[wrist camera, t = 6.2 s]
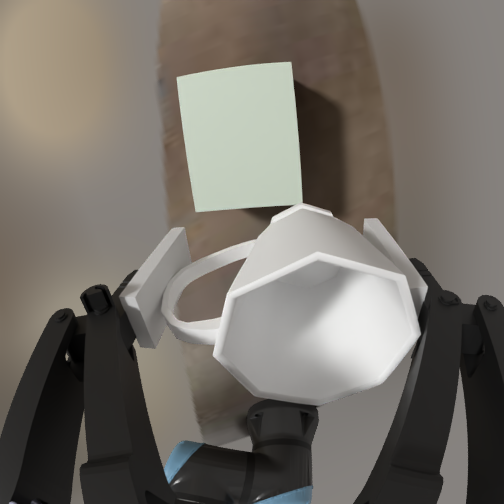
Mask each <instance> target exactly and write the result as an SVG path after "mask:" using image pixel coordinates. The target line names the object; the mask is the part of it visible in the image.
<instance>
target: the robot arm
mask: <svg viewBox="0 0 504 504" xmlns="http://www.w3.org/2000/svg"><path fill="white" fill-rule="evenodd" d="M363 236H364V237H365V238H366V239H367V240H368V241H369V242H370V243H371V244H372V245H373V246H374V247H376V248H377V249H378V250H379V251H380V252H381V253H382V254H384V255H385V256H386V257H387V258H388V259H389V260H390V261H391V262H392V263H393V264H394V265H395V266H396V267H397V268H398V269H399V270H400V271H401V272H402V273H403V274H404V275H405V276H406V279H407V282H408V286H409V289H410V293H411V296H412V300H413V303H414V307H415V311H416V315H417V319H418V323H419V327H420V332H421V335H420V336H419V338H418V340H417V343H416V346H415V348H414V351H413V354H412V356H411V358H412V362H411V366H410V370H409V373H408V377H407V381H406V384H405V387H404V390H403V394H402V397H401V400H400V403H399V406H398V409H397V412H396V415H395V418H394V420H393V423H392V425H391V428H390V431H389V433H388V436H387V438H386V441H385V443H384V445H383V448H382V450H381V452H380V455H379V457H378V459H377V461H376V464H375V466H374V468H373V470H372V472H371V474H370V476H369V478H368V481H367V482H366V484H365V486H364V488H363V490H362V491H361V493H360V494H359V496H358V497H357V499H356V500H355V502H354V503H353V504H437V501H438V498H439V496H440V493H441V490H442V485H443V477H442V476H441V475H440V467H441V463H442V460H443V456H444V453H445V449H446V445H447V441H448V437H449V432H450V428H451V423H452V418H453V412H454V406H455V400H456V393H457V386H458V378H459V368H460V371H461V377H462V384H463V390H464V399H465V407H466V419H467V432H468V485H467V499H466V504H504V307H503V305H502V304H501V302H500V301H499V300H498V299H496V298H495V297H493V296H489V295H482V296H480V297H479V298H478V300H477V303H476V305H470V304H463V303H462V302H461V300H460V298H459V297H458V296H457V295H456V294H454V293H453V292H450V291H447V290H442V288H441V287H440V285H439V284H438V283H437V281H436V280H435V278H434V277H433V276H432V275H431V273H430V272H429V271H428V269H427V268H426V266H425V265H424V264H423V263H422V262H420V261H419V260H417V259H416V258H411V259H408V258H407V256H406V255H405V254H404V252H403V251H402V249H401V248H400V247H399V245H398V244H397V243H396V242H395V240H394V239H393V238H392V236H391V235H390V234H389V233H388V231H387V230H386V229H385V227H384V226H383V225H382V224H381V222H380V221H379V220H378V219H377V218H372V219H364V231H363ZM190 264H192V261H191V257H190V252H189V247H188V242H187V237H186V232H185V227H180V228H172V229H171V230H170V231H169V232H168V234H167V235H166V236H165V237H164V239H163V240H162V241H161V242H160V244H159V245H158V246H157V247H156V249H155V250H154V251H153V253H152V254H151V255H150V256H149V258H148V259H147V260H146V261H145V262H144V264H143V265H142V266H141V268H140V269H139V270H134V271H133V272H132V273H130V274H129V275H128V276H127V277H126V278H125V279H124V281H123V283H121V284H120V286H119V288H117V290H116V291H115V292H114V294H113V295H112V296H111V294H110V291H109V289H108V287H107V286H106V285H101V284H100V285H95V286H92V287H90V288H88V289H87V290H85V291H84V292H83V293H82V294H81V296H80V299H81V301H82V303H83V305H84V308H85V310H86V312H87V315H84V316H78V317H75V314H74V313H73V310H72V309H69V308H65V309H60V310H58V311H57V312H56V313H54V314H53V315H52V317H51V318H50V319H49V321H48V323H47V325H46V327H45V329H44V331H43V333H42V335H41V337H40V339H39V341H38V343H37V345H36V347H35V349H34V351H33V353H32V355H31V358H30V360H29V362H28V364H27V366H26V369H25V371H24V373H23V376H22V378H21V381H20V383H19V386H18V388H17V390H16V393H15V396H14V398H13V401H12V404H11V407H10V409H9V412H8V415H7V418H6V421H5V424H4V427H3V431H2V434H1V438H0V504H70V502H71V494H72V482H73V473H74V465H75V458H76V451H77V445H78V438H79V432H80V427H81V422H82V417H83V412H84V413H85V430H86V442H87V451H88V461H87V463H84V464H82V465H81V467H80V481H81V488H82V494H83V500H84V504H310V503H311V499H312V489H313V485H312V457H311V456H312V455H311V444H312V441H313V438H314V435H315V431H316V429H317V426H318V421H319V419H318V410H317V409H316V407H315V406H314V405H309V404H301V403H293V402H286V401H280V400H274V399H269V400H264V401H261V402H259V403H257V404H255V405H253V406H252V407H251V408H250V409H249V411H248V414H247V426H248V430H249V433H250V437H251V440H252V444H253V448H252V452H245V451H239V450H233V449H227V448H221V447H217V446H212V445H208V444H206V443H197V442H192V441H181V442H179V443H178V444H177V445H176V447H175V448H174V449H173V451H172V453H171V455H170V457H169V459H168V461H167V464H166V466H165V469H163V466H162V463H161V460H160V456H159V453H158V449H157V446H156V443H155V439H154V435H153V432H152V427H151V424H150V420H149V416H148V412H147V408H146V403H145V398H144V393H143V389H142V384H141V379H140V373H139V368H138V362H137V356H136V351H135V349H134V347H133V342H134V340H135V338H136V339H137V341H138V343H139V345H140V347H144V348H154V349H155V348H156V346H157V344H158V342H159V340H160V338H161V336H162V333H163V331H164V329H165V327H166V325H167V324H166V321H165V319H164V316H163V314H162V312H161V307H162V300H163V294H164V291H165V289H166V287H167V284H168V283H169V281H170V280H171V279H172V278H173V277H174V276H175V275H176V274H177V273H178V272H179V271H180V270H181V269H183V268H184V267H186V266H188V265H190ZM182 291H183V290H182ZM182 291H181V292H180V293H179V294H178V297H177V300H176V303H175V306H176V304H177V302H178V299H179V297H180V295H181V293H182ZM175 306H174V308H175ZM66 353H67V355H68V356H69V357H68V360H67V361H66V358H65V355H66Z"/></svg>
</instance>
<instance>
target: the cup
mask: <svg viewBox="0 0 504 504" xmlns="http://www.w3.org/2000/svg"><path fill="white" fill-rule="evenodd" d="M246 257H248V258H247V259H246V261H245V263H244V264H243V266H242V268H241V269H240V271H239V273H238V274H237V276H236V278H235V280H234V282H233V284H232V286H231V287H230V289H229V291H228V293H227V296H226V300H225V304H224V309H223V313H222V317H220V318H216V319H210V320H204V321H197V322H189V323H186V322H183V321H180V320H177V319H176V317H175V316H174V306H175V303H176V300H177V297H178V294H179V293H180V292H181V291H182V290H183V289H184V288H185V287H186V286H187V285H188V284H189V283H190V282H192V281H193V280H195V279H197V278H199V277H201V276H202V275H204V274H206V273H209V272H211V271H213V270H215V269H218V268H220V267H222V266H225V265H227V264H229V263H232V262H234V261H237V260H240V259H243V258H246ZM161 312H162V314H163V316H164V319H165V321H166V324H167V325H168V327H169V328H170V330H171V331H172V333H173V334H174V335H175V337H176V338H177V339H180V340H182V341H185V342H188V343H193V344H207V345H214V344H215V348H214V352H213V356H214V357H215V358H216V359H217V360H218V361H219V362H220V363H221V364H222V365H223V366H224V367H225V368H226V369H227V370H228V371H229V372H230V373H231V374H232V375H233V376H234V377H235V378H236V379H237V380H238V381H239V382H240V383H241V384H242V385H243V386H244V387H245V388H246V389H247V390H248V391H250V392H251V393H252V394H253V395H254V396H257V397H262V398H268V399H274V400H280V401H286V402H293V403H301V404H309V405H318V406H320V405H323V404H326V403H330V402H333V401H336V400H339V399H342V398H345V397H347V396H351V395H353V394H356V393H359V392H362V391H365V390H367V389H369V388H372V387H375V386H377V385H380V384H382V383H383V382H384V381H385V380H386V379H387V378H388V376H389V375H390V374H391V373H392V372H393V370H394V369H395V368H396V366H397V365H398V364H399V363H400V362H401V360H402V359H403V358H404V356H405V355H406V354H407V353H408V351H409V350H410V349H411V347H412V346H413V345H414V343H415V342H416V341H417V339H418V338H419V336H420V335H421V332H420V327H419V323H418V319H417V315H416V311H415V307H414V303H413V300H412V296H411V293H410V289H409V286H408V282H407V279H406V276H405V275H404V274H403V273H402V272H401V271H400V270H399V269H398V268H397V267H396V266H395V265H394V264H393V263H392V262H391V261H390V260H389V259H388V258H387V257H386V256H385V255H384V254H382V253H381V252H380V251H379V250H378V249H377V248H376V247H374V246H373V245H372V244H371V243H370V242H369V241H368V240H367V239H366V238H365V237H364V236H363V235H361V234H360V233H359V232H358V231H357V230H356V229H355V228H354V227H353V226H351V225H349V224H347V223H345V222H343V221H341V220H339V219H337V218H335V217H333V215H332V213H331V211H329V210H325V209H322V208H318V207H315V206H311V205H308V204H304V203H301V202H300V203H298V204H296V205H294V206H293V207H291V208H289V209H287V210H285V211H283V212H281V213H279V214H277V215H275V216H274V217H272V220H271V224H270V225H269V226H268V227H267V228H266V229H265V230H264V231H263V232H262V233H261V234H260V235H259V237H258V238H257V239H256V240H251V241H248V242H244V243H241V244H238V245H234V246H231V247H229V248H226V249H224V250H221V251H219V252H216V253H213V254H211V255H209V256H206V257H204V258H202V259H199V260H197V261H195V262H193V263H192V264H190V265H188V266H186V267H184V268H183V269H181V270H180V271H179V272H178V273H177V274H176V275H175V276H174V277H173V278H172V279H171V280H170V281H169V283H168V284H167V287H166V289H165V291H164V294H163V300H162V307H161Z"/></svg>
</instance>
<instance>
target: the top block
mask: <svg viewBox="0 0 504 504" xmlns="http://www.w3.org/2000/svg"><path fill="white" fill-rule="evenodd" d="M177 85H178V93H179V102H180V110H181V118H182V125H183V133H184V140H185V147H186V154H187V160H188V167H189V173H190V180H191V186H192V192H193V198H194V204H195V210H196V212H203V211H215V210H227V209H239V208H253V207H268V206H284V205H296V204H298V203H300V202H301V203H303V200H302V181H301V165H300V150H299V137H298V125H297V114H296V103H295V93H294V84H293V75H292V66H291V62H281V63H267V64H256V65H247V66H238V67H231V68H224V69H218V70H212V71H206V72H200V73H195V74H190V75H186V76H181V77H177Z"/></svg>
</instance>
